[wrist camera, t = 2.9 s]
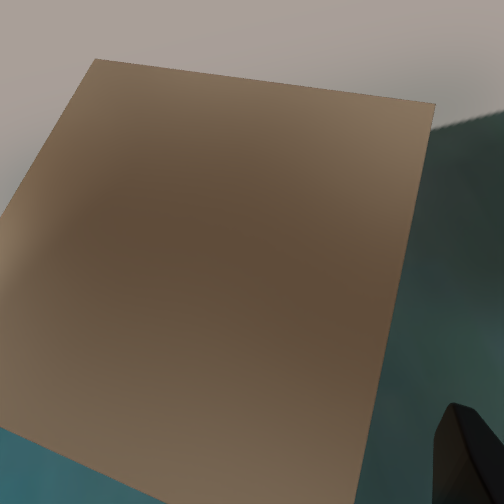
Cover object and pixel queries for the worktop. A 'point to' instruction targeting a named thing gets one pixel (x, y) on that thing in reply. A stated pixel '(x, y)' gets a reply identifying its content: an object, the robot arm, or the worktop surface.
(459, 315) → the worktop surface
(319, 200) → the maple block
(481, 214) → the worktop surface
